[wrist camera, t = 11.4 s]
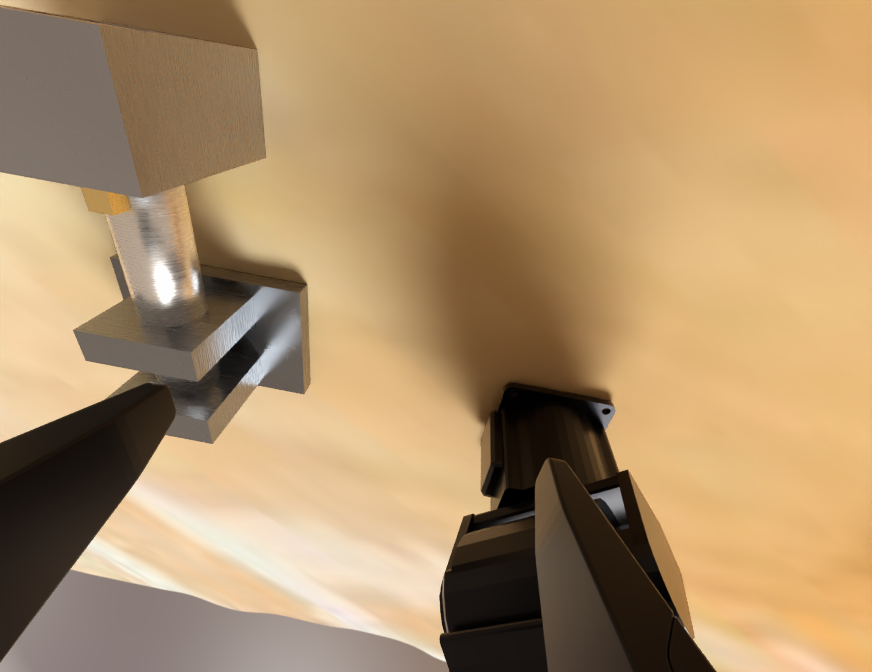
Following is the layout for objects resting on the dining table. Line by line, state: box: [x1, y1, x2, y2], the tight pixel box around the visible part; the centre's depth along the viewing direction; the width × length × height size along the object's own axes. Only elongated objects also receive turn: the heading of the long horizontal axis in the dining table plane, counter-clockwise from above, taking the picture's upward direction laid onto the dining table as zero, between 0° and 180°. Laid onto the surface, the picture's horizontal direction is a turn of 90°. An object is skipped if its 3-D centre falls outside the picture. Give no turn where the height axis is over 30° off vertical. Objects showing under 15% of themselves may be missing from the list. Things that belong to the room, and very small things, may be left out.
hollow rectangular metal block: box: [0, 5, 266, 198], centre depth 14 cm, size 6×4×8 cm, turn 82°
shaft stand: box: [52, 15, 310, 444], centre depth 18 cm, size 10×17×6 cm, turn 172°
